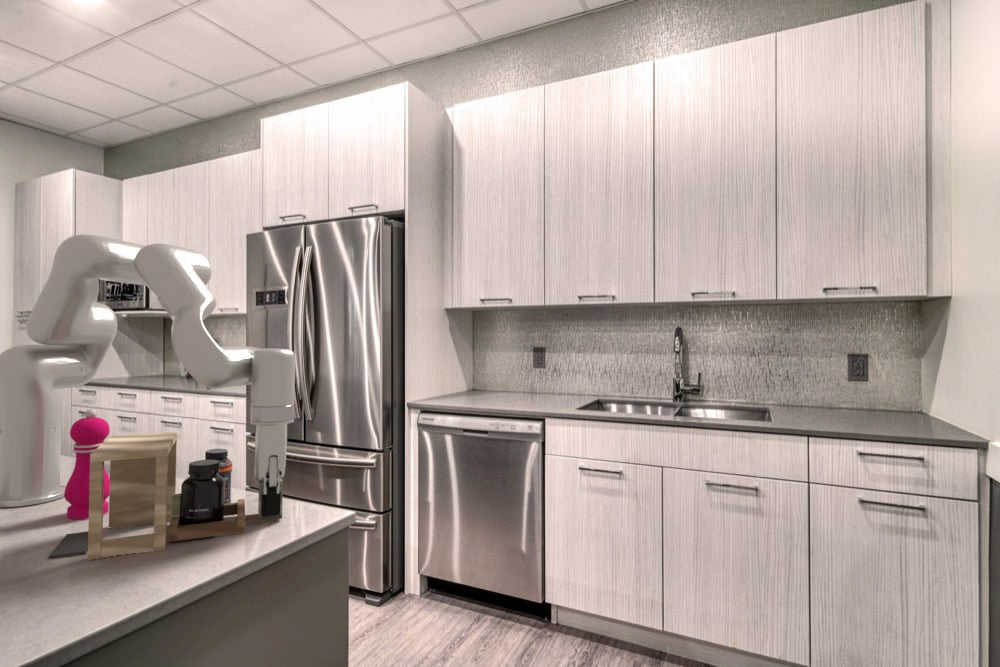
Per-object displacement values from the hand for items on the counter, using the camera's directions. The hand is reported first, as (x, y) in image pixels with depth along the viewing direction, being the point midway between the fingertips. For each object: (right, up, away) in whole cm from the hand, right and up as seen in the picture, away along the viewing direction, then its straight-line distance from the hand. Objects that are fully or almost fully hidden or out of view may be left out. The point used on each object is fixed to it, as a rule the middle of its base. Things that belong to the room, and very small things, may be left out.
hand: (270, 512), depth 100 cm
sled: (-6, -1, -3) cm, 7 cm away
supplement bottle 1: (-10, -2, -5) cm, 11 cm away
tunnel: (-19, -1, -9) cm, 21 cm away
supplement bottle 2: (-14, -2, +8) cm, 16 cm away
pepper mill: (-35, -1, +2) cm, 35 cm away
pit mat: (-26, -1, -13) cm, 29 cm away
